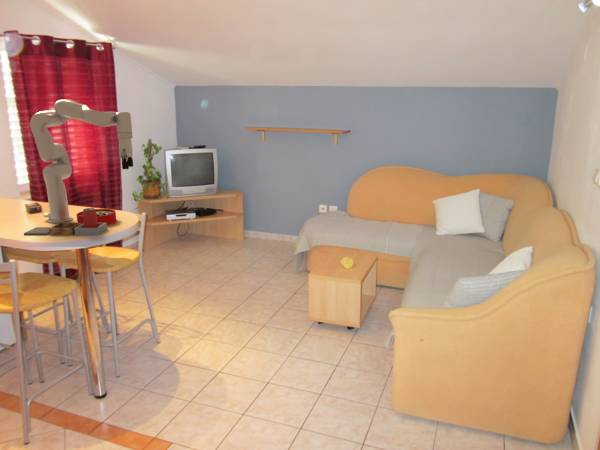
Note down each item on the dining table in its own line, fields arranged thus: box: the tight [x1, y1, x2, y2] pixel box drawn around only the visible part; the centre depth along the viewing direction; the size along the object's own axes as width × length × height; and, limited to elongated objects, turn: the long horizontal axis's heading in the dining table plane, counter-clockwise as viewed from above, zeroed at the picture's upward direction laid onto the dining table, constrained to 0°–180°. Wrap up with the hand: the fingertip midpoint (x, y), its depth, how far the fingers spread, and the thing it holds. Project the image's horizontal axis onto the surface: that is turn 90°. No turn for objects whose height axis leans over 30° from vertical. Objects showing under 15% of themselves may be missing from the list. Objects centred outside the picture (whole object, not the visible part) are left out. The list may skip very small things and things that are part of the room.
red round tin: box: [76, 208, 117, 226], centre depth 281 cm, size 20×6×20 cm
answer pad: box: [23, 226, 52, 236], centre depth 263 cm, size 12×12×1 cm
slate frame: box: [74, 223, 108, 236], centre depth 262 cm, size 12×12×4 cm
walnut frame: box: [49, 222, 82, 236], centre depth 262 cm, size 12×12×4 cm
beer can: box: [82, 207, 98, 228], centre depth 261 cm, size 7×7×12 cm
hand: (127, 167), depth 276 cm, fingers open, 9 cm apart
